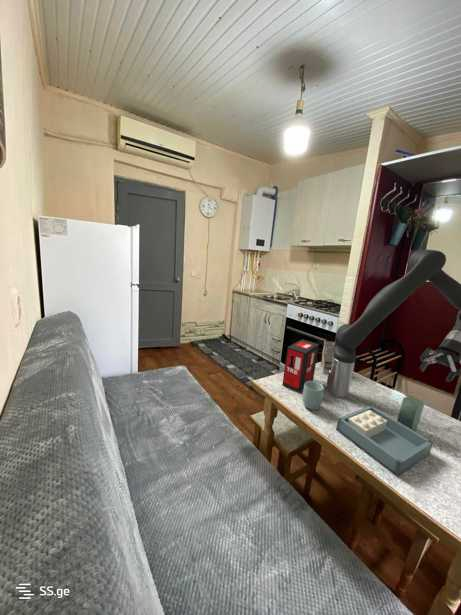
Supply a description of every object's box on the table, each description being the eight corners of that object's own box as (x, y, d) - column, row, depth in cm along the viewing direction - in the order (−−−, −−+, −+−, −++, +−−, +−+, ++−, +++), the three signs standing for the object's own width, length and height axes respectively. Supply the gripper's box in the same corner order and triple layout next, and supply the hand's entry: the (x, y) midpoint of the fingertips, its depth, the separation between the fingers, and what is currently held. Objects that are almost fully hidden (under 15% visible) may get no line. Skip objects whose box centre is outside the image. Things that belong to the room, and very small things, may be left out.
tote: (335, 429, 95) (338, 418, 94) (368, 416, 104) (370, 405, 103) (396, 476, 76) (400, 463, 75) (429, 454, 86) (433, 442, 85)
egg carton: (346, 427, 95) (349, 415, 94) (367, 418, 101) (370, 407, 100) (363, 440, 89) (366, 427, 88) (384, 430, 95) (388, 417, 94)
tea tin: (395, 427, 99) (403, 398, 96) (402, 424, 101) (410, 395, 98) (409, 436, 94) (417, 405, 91) (416, 432, 97) (424, 402, 94)
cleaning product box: (299, 393, 118) (305, 353, 113) (282, 385, 123) (287, 347, 118) (313, 380, 130) (319, 344, 126) (296, 374, 136) (302, 339, 131)
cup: (311, 414, 103) (315, 392, 100) (297, 404, 109) (300, 383, 107) (324, 409, 107) (328, 388, 104) (309, 399, 113) (313, 379, 111)
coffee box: (334, 375, 138) (339, 347, 134) (322, 373, 139) (327, 345, 135) (331, 368, 146) (336, 341, 143) (320, 366, 148) (324, 340, 144)
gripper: (433, 333, 106) (412, 362, 103) (477, 345, 94) (455, 379, 91) (435, 343, 109) (415, 372, 106) (478, 356, 97) (457, 389, 94)
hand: (434, 375), depth 98 cm, fingers open, 8 cm apart
